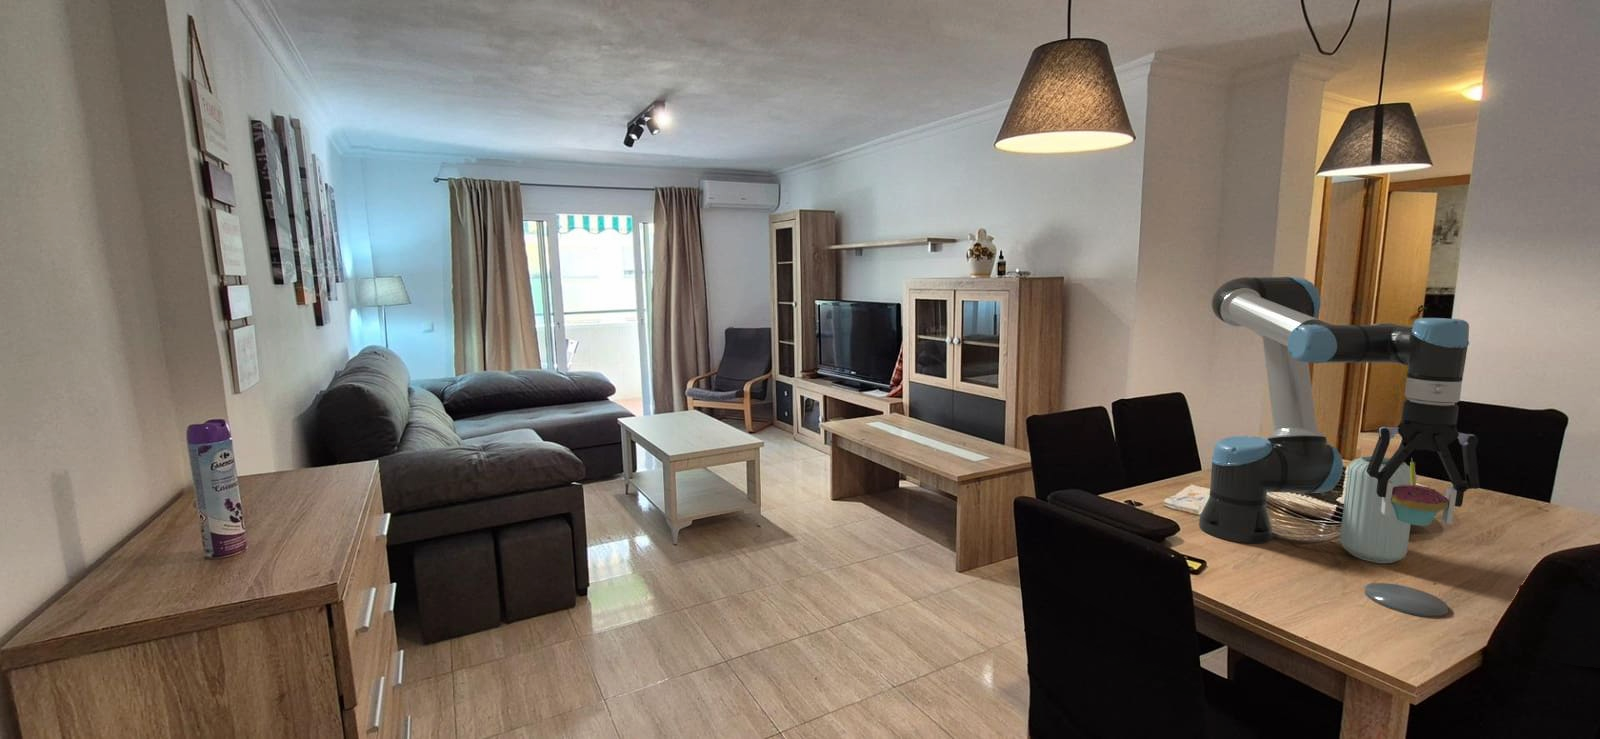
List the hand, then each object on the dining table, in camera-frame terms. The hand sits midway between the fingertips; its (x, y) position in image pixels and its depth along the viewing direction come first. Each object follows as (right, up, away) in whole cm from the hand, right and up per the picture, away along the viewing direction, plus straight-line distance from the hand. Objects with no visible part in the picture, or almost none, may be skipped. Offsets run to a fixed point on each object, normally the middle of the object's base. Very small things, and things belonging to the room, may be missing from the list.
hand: (1415, 517), depth 127 cm
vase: (+11, -14, +23) cm, 29 cm away
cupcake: (0, -1, 0) cm, 1 cm away
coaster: (0, -17, +3) cm, 17 cm away
